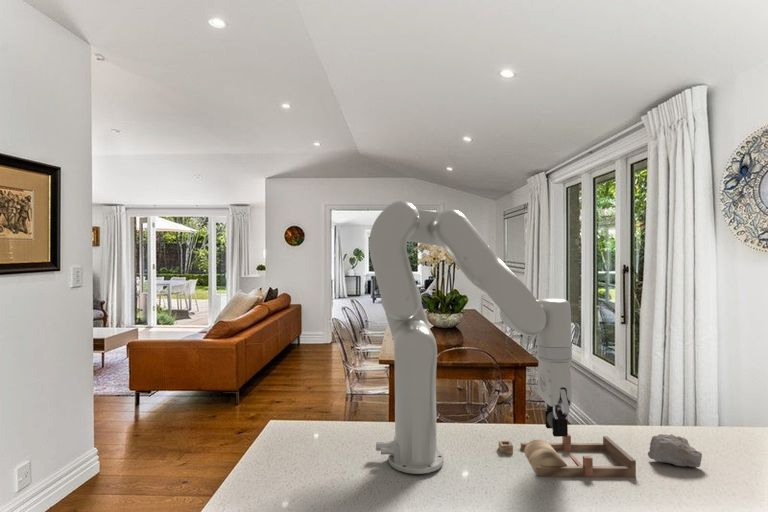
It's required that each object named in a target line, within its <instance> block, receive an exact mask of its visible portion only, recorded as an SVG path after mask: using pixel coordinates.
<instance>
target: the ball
mask: <svg viewBox="0 0 768 512" xmlns="http://www.w3.org/2000/svg"><path fill="white" fill-rule="evenodd" d="M557 412H558V410H557ZM552 418H554V414H553V411H552V412H550V413H549V414H548V416H547V421H548V424H549V425H550V426H551V427H552Z"/></svg>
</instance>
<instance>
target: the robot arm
mask: <svg viewBox="0 0 768 512" xmlns="http://www.w3.org/2000/svg"><path fill="white" fill-rule="evenodd" d="M408 242H412V243H416V244H421V245H430V246H438V247H442V249H444V251H445V252H446V254H447V255H448V256H449V257H450V258H451V260H452V261H453V262H454V263H455V265H456V266H457V267H458V269H460V270H461V272H462V273H463V275H464V276H465V278H466V279H467V280H469V282H471V284H472V285H474V286H475V287H477V289H480V290H481V291H482V292H483V293H484V294H485V295H486V296H487V297H489V298H490V300H491V301H492V302H493V303H494V304H495V305H496V306H497V307H498V308H499V309H500V310H499V317H500V319H501V322H502V323H503V324H504V326H506V327H507V328H509V329H511V330H512V331H514V332H517V333H518V334H520V335H523V336H527V337H532V336H536V354H537V355H536V357H537V359H538V364H537V395H538V396H539V397H540V398H541V399H542V400H543V401H544V409H545V411H544V415H545V417H544V418H545V427H546V429H552V436H553V437H554V438H555V437H561V438H562V437H563V436H568V434H569V429H568V419H569V415H568V414H570V413H571V411H570V410H571V409H570V406H572V403H573V387H572V386H573V385H572V383H573V382H572V374H571V373H572V372H571V364H570V362H572V361H573V347H572V346H573V345H572V342H573V341H572V313H571V312H572V311H571V304H570V302H569V301H568V300H567V299H564V298H542V299H537V298H536V297H535V295H534V294H533V293H532V292H531V291H530V289H529V288H528V287H527V286H526V285H525V283H524V282H523V281H522V280H521V279H520V278H519V276H517V274H515V273H514V272H513V271H512V270H511V269H510V268H509V266H508V265H506V263H505V262H504V261H503V260H502V259H501V258H500V257H499V256H498V255H497V253H495V251H494V250H493V249H492V248H491V246H490V245H489V244H488V243H487V242H486V240H485V239H484V238H483V236H482V235H481V234H480V232H479V231H478V230H477V229H476V227H475V226H474V225H473V224H472V222H470V220H469V219H468V218H467V217H466V215H465V214H464V213H462V212H461V211H459V210H457V209H445V210H443V211H441V212H440V211H432V210H431V211H430V210H424V209H418V208H417V207H416V206H415V205H414V204H413V203H412V202H410V201H406V200H397V201H395V202H392V203H390V204H388V206H386V207H385V208H384V209H382V211H381V213H379V215H378V216H377V217H376V219H375V220H374V222H373V224H372V226H371V229H370V233H369V240H368V249H369V255H370V256H369V257H370V260H371V264H372V268H373V272H374V274H375V279H376V282H377V286H378V290H379V294H380V302H381V305H382V308H383V310H384V312H385V316H386V319H387V323H388V326H389V329H390V333H391V335H392V339H393V340H392V341H393V347H394V348H393V350H394V354H393V355H394V431H395V432H394V434H395V436H393V440H389V442H386V441H385V442H384V441H376V442H375V451H376V452H378V451H379V452H380V455H388V462H389V465H390V466H391V467H392V468H393V469H395V470H397V471H399V472H403V473H406V474H414V475H417V474H419V475H420V474H428V473H433V472H435V471H438V470H439V469H440V468H442V467H443V465H444V455H443V453H441V452H440V451H439V450H438V449H437V363H438V346H437V341H436V338H435V336H434V333H433V332H432V330H431V329H430V326H429V324H428V320H427V316H426V313H425V310H424V306H423V304H422V295H421V291H420V289H419V287H418V285H417V282H416V279H415V275H414V273H413V269H412V267H411V262H410V257H409V254H408V250H407V248H408V247H407V244H408ZM552 411H553V414H554V418H552V427H551V426H550V425H549V424H548V421H547V416H548V414H549V413H550V412H552ZM557 411H558V412H557Z"/></svg>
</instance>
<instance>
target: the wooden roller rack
mask: <svg viewBox="0 0 768 512" xmlns="http://www.w3.org/2000/svg"><path fill="white" fill-rule="evenodd" d="M561 439H562V442H547V441H546V440H543V439H534V440H533V439H532V440H531V441H529V442H520V449H521V451H523V453H524V455H525V456H526V458H527V460H528V462H529V464H530V465H531V467H532V470H533V471H534V473H535V475H536V477H582V478H583V477H586V478H588V477H589V478H594V477H596V478H597V477H598V478H600V477H603V478H604V477H605V478H609V477H611V478H613V477H614V478H615V477H616V478H636V477H637V470H636V469H637V467H636V465H637V461H636V459H634V458H633V457H632V456H631V455H630V454H629V453H627V451H625V450H624V449H623V448H622V447H621V446H619V445H618V444H617V443H616V442H614V441H613V440H612V439H611V438H610V437H608V436H605V435H603V436H602V442H572V435H570V433H568V436H563V437H561ZM557 451H565V452H566V453H567V455H569V457H570V458H571V460H573V462H574V463H575V465H568V464H567V463H566V462H565V461H564V460H563V458H562V457H561V455H559V454H558V452H557ZM572 451H573V452H574V451H578V452H579V451H581V452H582V451H583V452H586V451H587V452H591V451H592V452H593V451H594V452H605V453H606V454H607V455H609V456H610V458H611V459H612V460H613V461H614V462H615V463H616V464H617V465H608V466H607V465H605V466H604V465H602V466H601V465H595V466H594V465H593V464H594V463H593V461H594V459H593V457H592V456H591V455H582V463H581V462H580V461H579V460H578V458H576V456H575V455H574V454H573V453H572Z"/></svg>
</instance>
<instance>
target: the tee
mask: <svg viewBox="0 0 768 512" xmlns="http://www.w3.org/2000/svg"><path fill="white" fill-rule="evenodd" d="M498 449H499V451H500V453H501V454H505V455H506V454H514V445H513V443H512V442H511V440H498Z"/></svg>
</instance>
